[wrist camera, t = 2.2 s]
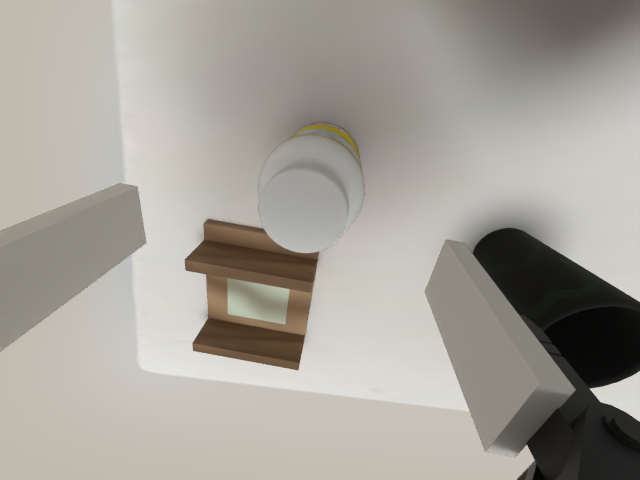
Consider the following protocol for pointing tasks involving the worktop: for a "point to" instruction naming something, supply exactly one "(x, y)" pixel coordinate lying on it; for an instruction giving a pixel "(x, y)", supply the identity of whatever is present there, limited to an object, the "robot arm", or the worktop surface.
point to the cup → (566, 305)
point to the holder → (253, 295)
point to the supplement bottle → (311, 188)
